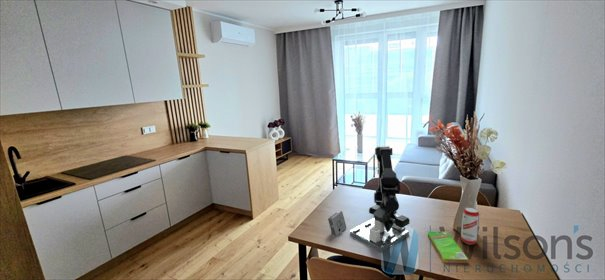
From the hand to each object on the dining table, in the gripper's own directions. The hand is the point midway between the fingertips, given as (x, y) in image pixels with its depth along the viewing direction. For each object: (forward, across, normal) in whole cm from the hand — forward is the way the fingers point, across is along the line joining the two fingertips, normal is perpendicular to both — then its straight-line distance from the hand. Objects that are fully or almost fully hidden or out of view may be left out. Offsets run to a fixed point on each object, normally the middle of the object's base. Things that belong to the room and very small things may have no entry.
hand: (387, 231), depth 129 cm
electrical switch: (+4, -21, -13) cm, 25 cm away
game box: (+5, +21, +14) cm, 25 cm away
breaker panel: (+4, -5, 0) cm, 6 cm away
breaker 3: (+1, -1, +8) cm, 8 cm away
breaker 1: (+1, -5, 0) cm, 5 cm away
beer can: (+4, +25, +26) cm, 36 cm away
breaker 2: (+1, -1, -9) cm, 9 cm away
